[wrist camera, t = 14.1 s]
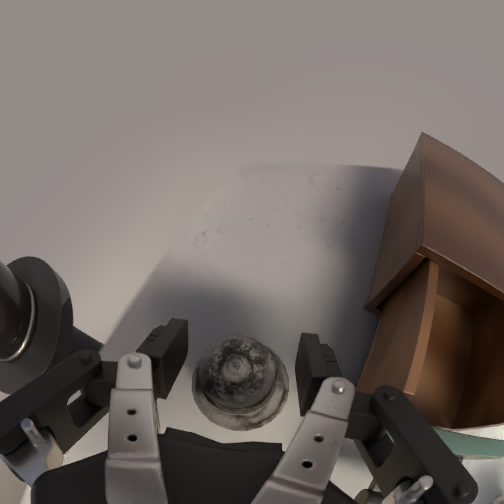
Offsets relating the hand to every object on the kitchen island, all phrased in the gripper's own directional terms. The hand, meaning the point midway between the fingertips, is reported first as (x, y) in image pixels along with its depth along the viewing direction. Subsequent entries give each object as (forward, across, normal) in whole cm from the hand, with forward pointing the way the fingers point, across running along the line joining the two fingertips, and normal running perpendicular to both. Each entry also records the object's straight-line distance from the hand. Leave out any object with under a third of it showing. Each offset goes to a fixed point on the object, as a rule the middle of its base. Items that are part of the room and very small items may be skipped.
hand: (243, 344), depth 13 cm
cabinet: (+12, +19, +2) cm, 23 cm away
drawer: (+3, +14, -6) cm, 15 cm away
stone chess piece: (+4, 0, -6) cm, 8 cm away
